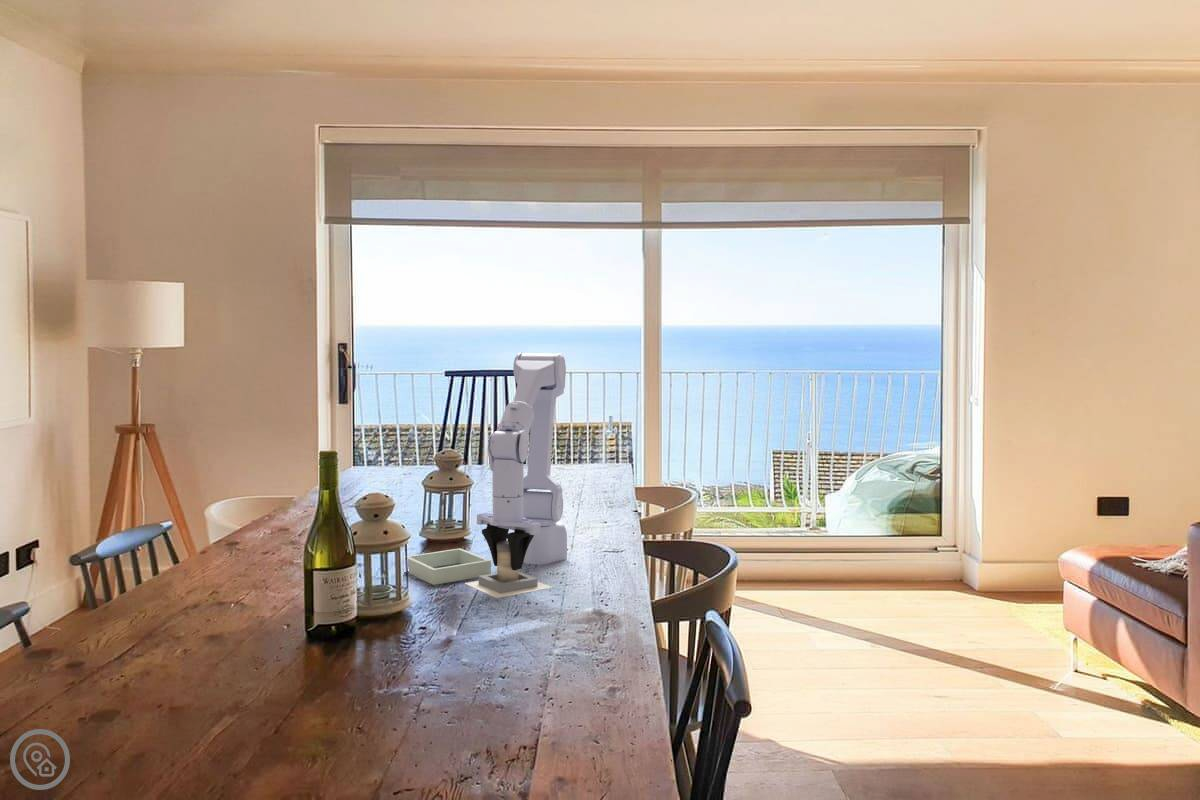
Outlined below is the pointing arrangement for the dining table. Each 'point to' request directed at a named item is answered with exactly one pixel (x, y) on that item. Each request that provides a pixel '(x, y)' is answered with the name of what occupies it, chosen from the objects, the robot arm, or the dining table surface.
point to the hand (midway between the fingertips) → (507, 567)
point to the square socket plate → (507, 585)
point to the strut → (505, 563)
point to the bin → (467, 569)
